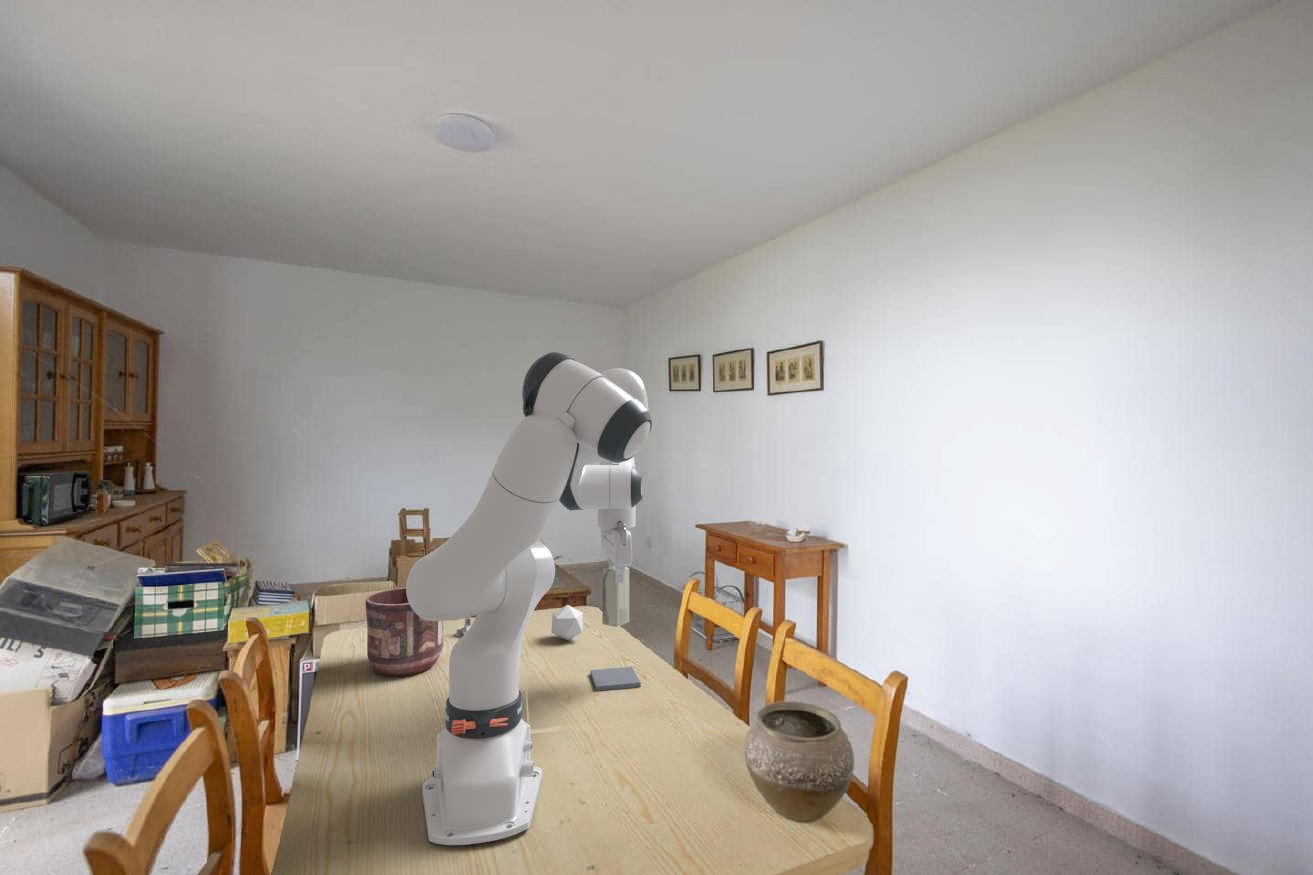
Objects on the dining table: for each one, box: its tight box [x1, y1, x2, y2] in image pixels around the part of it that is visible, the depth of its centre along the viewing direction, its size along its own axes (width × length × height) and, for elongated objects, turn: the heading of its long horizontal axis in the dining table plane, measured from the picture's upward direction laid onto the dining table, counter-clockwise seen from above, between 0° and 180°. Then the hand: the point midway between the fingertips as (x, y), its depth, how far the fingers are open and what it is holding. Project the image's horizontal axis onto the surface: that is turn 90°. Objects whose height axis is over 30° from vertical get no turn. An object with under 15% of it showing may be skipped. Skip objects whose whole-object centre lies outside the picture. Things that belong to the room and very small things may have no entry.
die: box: [551, 604, 584, 641], centre depth 169 cm, size 8×9×10 cm
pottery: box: [365, 587, 444, 678], centre depth 147 cm, size 18×18×18 cm
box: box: [601, 566, 630, 628], centre depth 141 cm, size 5×4×13 cm
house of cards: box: [455, 616, 472, 638], centre depth 170 cm, size 9×9×8 cm
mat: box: [590, 666, 641, 692], centre depth 141 cm, size 10×10×1 cm
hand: (615, 578), depth 141 cm, fingers closed on box, 6 cm apart
